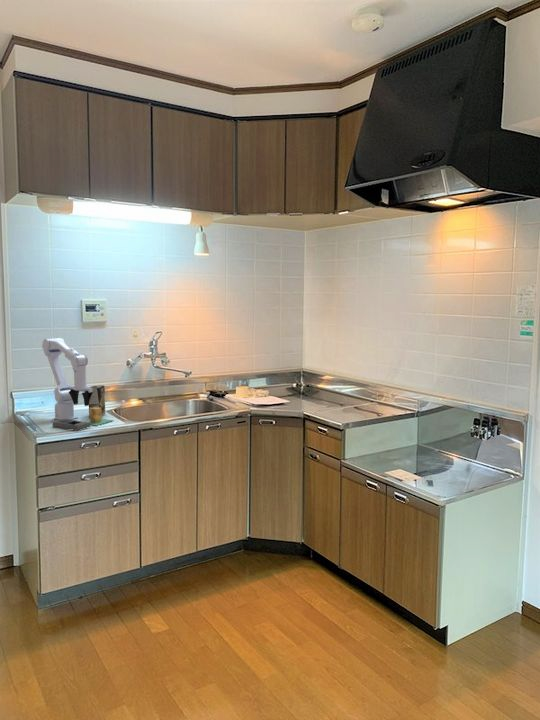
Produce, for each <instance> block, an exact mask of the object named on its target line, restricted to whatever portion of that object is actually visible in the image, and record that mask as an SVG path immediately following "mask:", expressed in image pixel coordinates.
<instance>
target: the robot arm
mask: <svg viewBox="0 0 540 720" xmlns="http://www.w3.org/2000/svg"><path fill="white" fill-rule="evenodd" d="M42 349H43V350H42V351H43V353H44V355H45V356H46V357H47V360H48V362H49V366H50V369H51V372H52V374H53V378H54V380H55V384H56V385H57V386H56V387H55V389H54V391H53V393H54V399H55V401H56V403H54V418H53V419H54V420H57V421H59V420H62V419H70V420H76V419H78V416H75V411H74V410H75V408H74V405H78V404H79V396H80V395H79V394H80V392H81V395H82V398H83V404H84V407H87V406H88V407H89V401H90V398H91V396H92V394H93V391H92V388H90V386H89V387H88V386H87V372H86V371H87V370H86V369H87V367H86V366H87V365H88V363H89V362H88V357H87V355H86V354H80V352H78V351H76V349H75V348H73V347H72V348H71V347H69V346H68V345H67V344H66V342H65V339H63V338H62V337H56V338H44V339H43V341H42ZM62 353H63V354H64V357H65V358H67V360H68V361H70V364H71V367H72V371H73V378H74V379H73V380H74V381H73V382H74V384H73V385H72V384H70V383H69V382H67V378H66V375H65V372H64V370H63V366H62V364H61V361H60V358H59V356H60V355H61V354H62Z"/></svg>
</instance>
